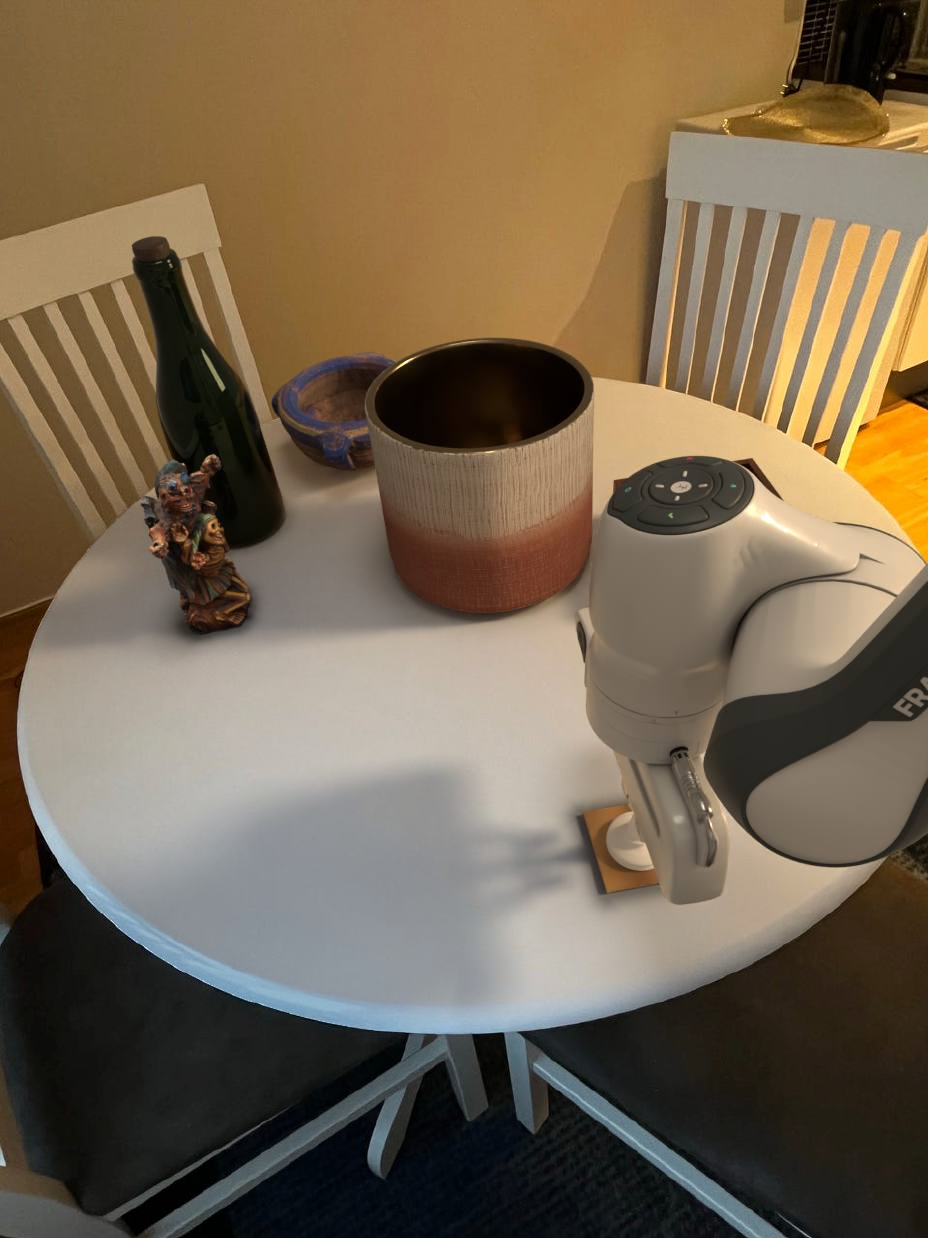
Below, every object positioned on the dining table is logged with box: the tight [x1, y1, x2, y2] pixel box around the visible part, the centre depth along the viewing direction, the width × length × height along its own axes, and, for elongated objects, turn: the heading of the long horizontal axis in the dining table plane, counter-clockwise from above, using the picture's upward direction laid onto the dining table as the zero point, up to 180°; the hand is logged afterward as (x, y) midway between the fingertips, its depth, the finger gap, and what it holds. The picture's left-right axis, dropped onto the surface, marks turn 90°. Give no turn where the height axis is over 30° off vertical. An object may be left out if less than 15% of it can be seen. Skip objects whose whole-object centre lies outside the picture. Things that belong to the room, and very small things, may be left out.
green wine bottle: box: [131, 235, 286, 547], centre depth 89 cm, size 10×10×33 cm
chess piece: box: [606, 798, 654, 871], centre depth 62 cm, size 5×5×10 cm
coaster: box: [582, 803, 660, 894], centre depth 65 cm, size 7×7×1 cm
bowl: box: [271, 351, 398, 472], centre depth 105 cm, size 18×18×10 cm
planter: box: [365, 337, 595, 614], centre depth 85 cm, size 22×22×20 cm
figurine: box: [140, 454, 253, 635], centre depth 82 cm, size 11×9×18 cm
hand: (641, 812), depth 62 cm, fingers closed on chess piece, 2 cm apart
